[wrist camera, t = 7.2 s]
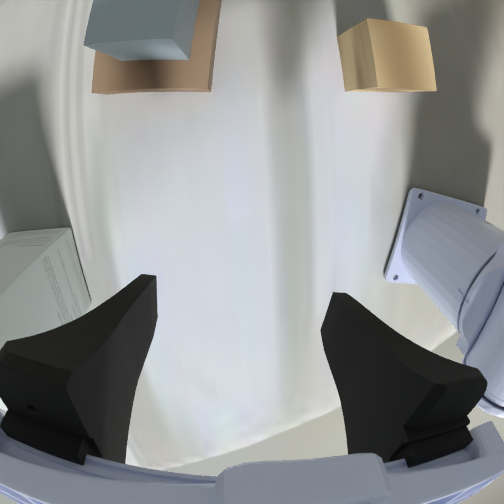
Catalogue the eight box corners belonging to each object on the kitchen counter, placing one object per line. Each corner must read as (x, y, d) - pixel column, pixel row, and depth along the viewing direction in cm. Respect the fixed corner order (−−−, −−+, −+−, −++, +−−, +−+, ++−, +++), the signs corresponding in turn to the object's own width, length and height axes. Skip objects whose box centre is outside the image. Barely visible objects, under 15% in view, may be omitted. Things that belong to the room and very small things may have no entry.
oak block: (388, 40, 16) (426, 27, 11) (396, 92, 17) (436, 91, 13) (336, 36, 16) (366, 18, 11) (345, 91, 17) (377, 86, 13)
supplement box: (9, 230, 20) (-86, 311, 8) (73, 224, 20) (-29, 326, 9) (31, 302, 23) (-35, 396, 12) (94, 305, 23) (33, 423, 12)
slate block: (199, -1, 12) (188, -38, 8) (189, 60, 14) (171, 39, 9) (133, 2, 12) (101, -29, 7) (121, 60, 14) (83, 45, 9)
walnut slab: (222, -1, 15) (220, -18, 12) (211, 92, 18) (207, 88, 15) (121, 4, 14) (106, -9, 11) (110, 94, 17) (91, 93, 14)
